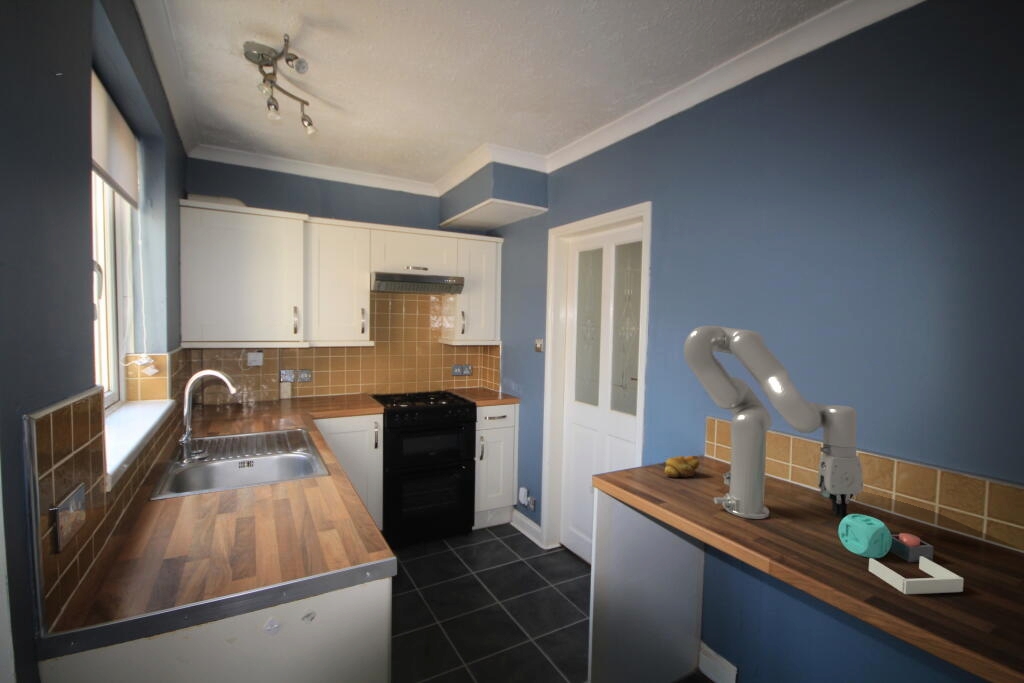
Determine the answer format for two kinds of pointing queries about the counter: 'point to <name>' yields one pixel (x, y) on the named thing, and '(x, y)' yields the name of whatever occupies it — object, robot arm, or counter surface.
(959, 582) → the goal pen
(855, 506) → the counter surface
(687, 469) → the bread roll
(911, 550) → the button collar
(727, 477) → the egg carton
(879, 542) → the decorative dice
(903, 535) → the button
